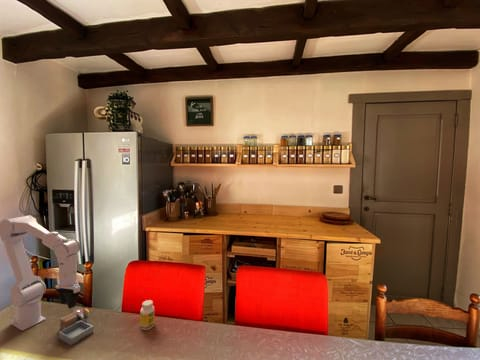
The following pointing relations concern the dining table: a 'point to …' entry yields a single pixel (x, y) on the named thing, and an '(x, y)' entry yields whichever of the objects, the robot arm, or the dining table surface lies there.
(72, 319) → the block
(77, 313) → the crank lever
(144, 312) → the supplement bottle
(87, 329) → the tray
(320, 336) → the dining table surface
